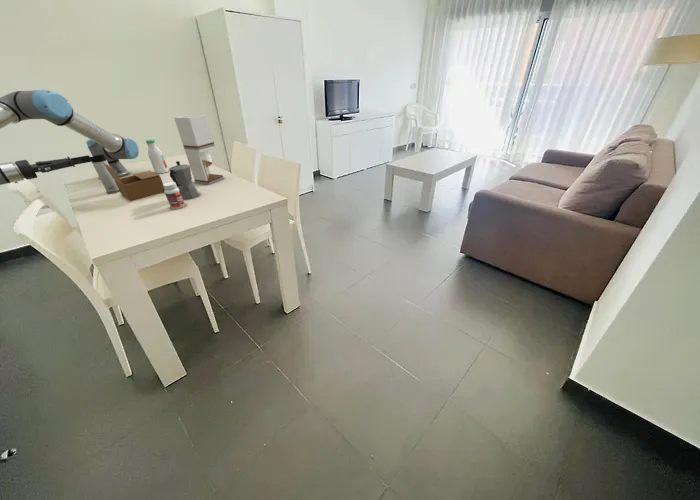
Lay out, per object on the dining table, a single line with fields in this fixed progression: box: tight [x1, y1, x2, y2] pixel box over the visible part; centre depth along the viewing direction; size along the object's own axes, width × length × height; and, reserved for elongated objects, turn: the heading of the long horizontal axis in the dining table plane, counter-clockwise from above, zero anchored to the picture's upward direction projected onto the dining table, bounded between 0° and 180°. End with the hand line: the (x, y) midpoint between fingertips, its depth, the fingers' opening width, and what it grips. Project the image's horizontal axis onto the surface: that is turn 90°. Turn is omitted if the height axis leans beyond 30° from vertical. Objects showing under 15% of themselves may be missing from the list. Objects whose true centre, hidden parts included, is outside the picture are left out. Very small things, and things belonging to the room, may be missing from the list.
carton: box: [115, 170, 166, 202], centre depth 149 cm, size 17×14×9 cm
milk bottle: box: [145, 139, 169, 175], centre depth 180 cm, size 8×8×20 cm
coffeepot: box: [168, 160, 200, 200], centre depth 141 cm, size 15×9×18 cm, turn 179°
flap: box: [103, 163, 123, 184], centre depth 139 cm, size 8×14×1 cm
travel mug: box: [89, 154, 120, 194], centre depth 150 cm, size 6×7×20 cm
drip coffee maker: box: [173, 114, 224, 186], centre depth 158 cm, size 11×11×35 cm
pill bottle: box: [163, 181, 186, 210], centre depth 132 cm, size 6×6×11 cm
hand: (90, 158), depth 131 cm, fingers closed
